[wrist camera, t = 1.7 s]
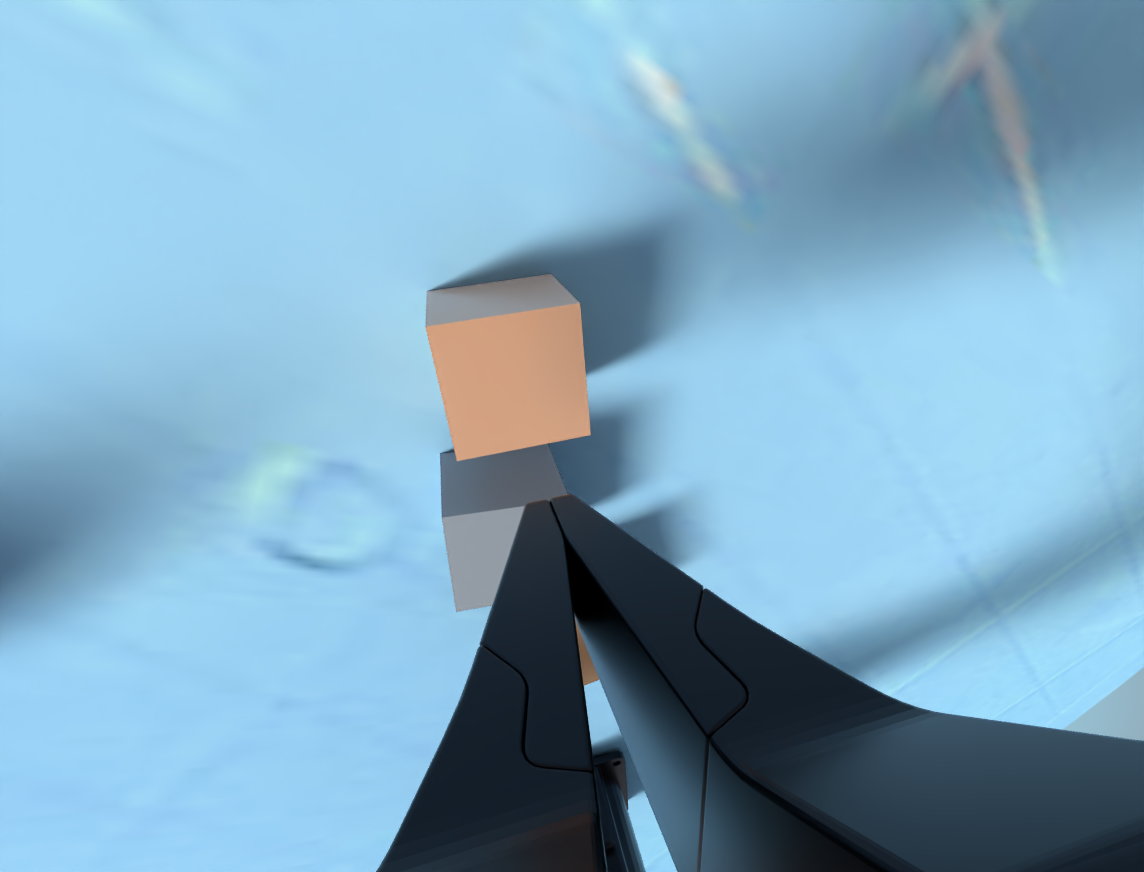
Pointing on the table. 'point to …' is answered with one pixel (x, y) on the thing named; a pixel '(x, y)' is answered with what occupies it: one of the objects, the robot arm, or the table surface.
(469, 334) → the terracotta block
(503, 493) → the slate block
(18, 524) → the table surface
